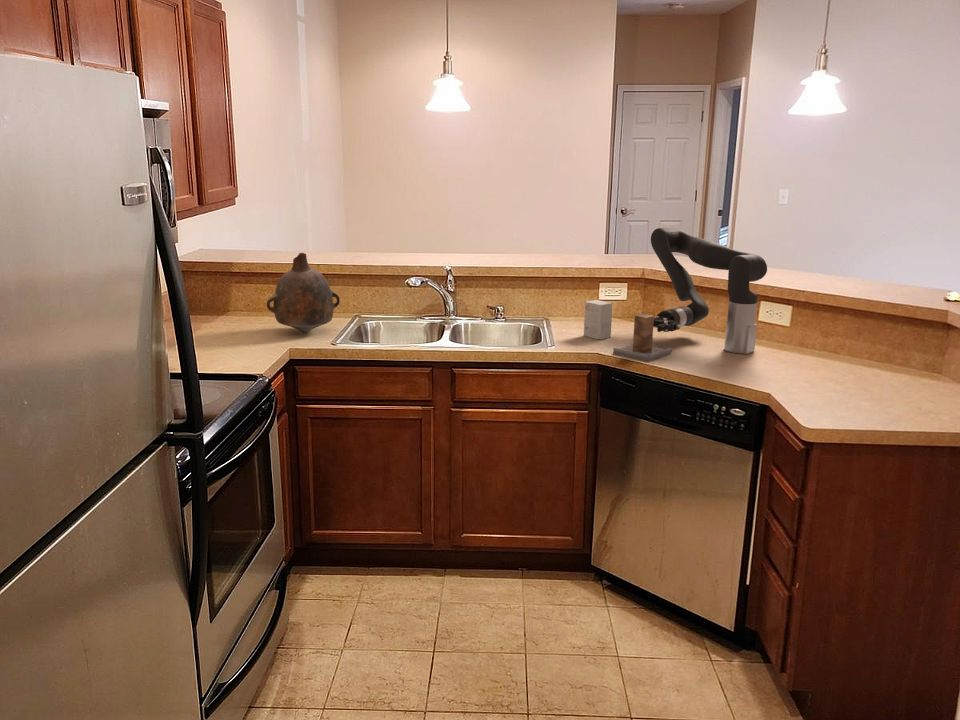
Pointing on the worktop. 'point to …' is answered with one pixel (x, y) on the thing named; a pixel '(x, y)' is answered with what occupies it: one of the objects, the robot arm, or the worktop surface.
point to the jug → (303, 297)
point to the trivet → (645, 356)
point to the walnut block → (643, 333)
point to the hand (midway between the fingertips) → (647, 326)
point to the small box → (598, 319)
